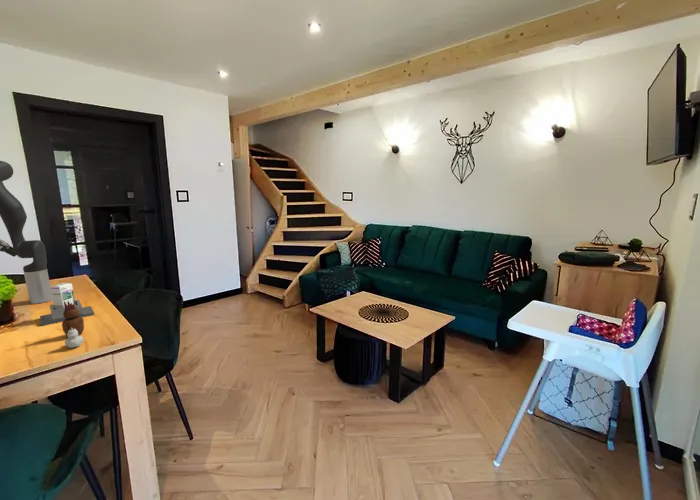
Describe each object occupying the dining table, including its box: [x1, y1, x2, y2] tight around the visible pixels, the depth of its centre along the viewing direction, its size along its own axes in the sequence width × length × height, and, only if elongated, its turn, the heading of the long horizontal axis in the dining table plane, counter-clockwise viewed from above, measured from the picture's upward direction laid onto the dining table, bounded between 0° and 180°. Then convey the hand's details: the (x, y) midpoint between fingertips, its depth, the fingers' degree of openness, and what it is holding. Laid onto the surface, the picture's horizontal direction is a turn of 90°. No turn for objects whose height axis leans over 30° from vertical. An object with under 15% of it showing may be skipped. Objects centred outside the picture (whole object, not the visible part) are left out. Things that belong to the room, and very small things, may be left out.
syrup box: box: [50, 282, 76, 309], centre depth 158 cm, size 6×6×14 cm
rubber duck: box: [64, 327, 84, 349], centre depth 128 cm, size 5×7×8 cm
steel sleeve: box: [39, 299, 95, 327], centre depth 159 cm, size 13×19×6 cm
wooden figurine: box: [61, 301, 85, 337], centre depth 137 cm, size 7×6×15 cm
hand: (16, 253), depth 153 cm, fingers open, 8 cm apart
